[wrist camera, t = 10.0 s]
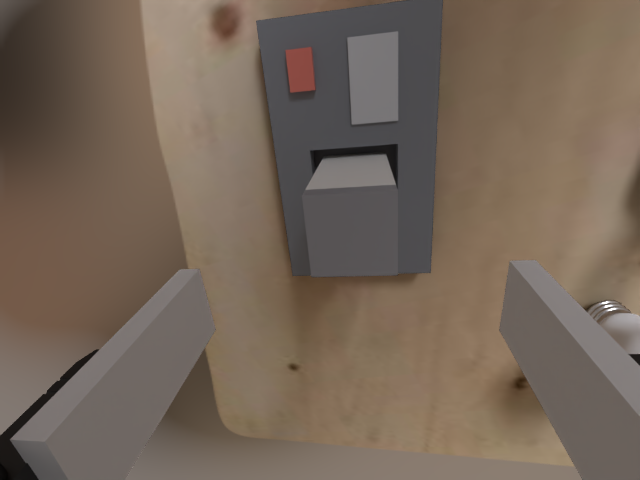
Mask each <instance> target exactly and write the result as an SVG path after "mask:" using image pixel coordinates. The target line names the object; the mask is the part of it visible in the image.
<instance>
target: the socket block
mask: <svg viewBox="0 0 640 480" xmlns="http://www.w3.org/2000/svg"><path fill="white" fill-rule="evenodd" d="M442 9H443V0H406V1H399V2H391V3H384V4H377V5H369V6H362V7H354V8H347V9H340V10H332V11H325V12H317V13H310V14H303V15H295V16H288V17H280V18H273V19H266V20H258V21H256V23H257V30H258V37H259V44H260V51H261V58H262V65H263V72H264V79H265V86H266V93H267V100H268V107H269V114H270V121H271V128H272V135H273V142H274V149H275V156H276V162H277V169H278V176H279V183H280V190H281V197H282V204H283V211H284V218H285V225H286V232H287V239H288V246H289V253H290V260H291V267H292V274H293V276H310V275H311V269H310V260H309V252H308V244H307V235H306V227H305V218H304V210H303V201H302V195H303V193H304V191H305V189H306V187H307V186H308V184H309V182H310V180H311V178H312V177H313V175H314V173H315V171H316V170H317V168H318V166H319V164H320V162H321V161H322V159H323V157H324V156H336V155H350V154H363V153H377V152H385V153H386V156H387V159H388V162H389V165H390V168H391V171H392V174H393V177H394V180H395V183H396V186H397V189H398V274H400V273H431V255H432V232H433V210H434V188H435V165H436V143H437V121H438V98H439V76H440V53H441V31H442Z"/></svg>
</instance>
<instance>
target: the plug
mask: <svg viewBox="0 0 640 480" xmlns="http://www.w3.org/2000/svg"><path fill="white" fill-rule="evenodd" d="M302 201H303V210H304V218H305V227H306V235H307V244H308V252H309V260H310V269H311V277H343V276H389V275H398V189H397V186H396V183H395V180H394V177H393V174H392V171H391V168H390V165H389V162H388V159H387V156H386V153H385V152H377V153H363V154H350V155H336V156H324V157H323V159H322V161H321V162H320V164H319V166H318V168H317V170H316V171H315V173H314V175H313V177H312V178H311V180H310V182H309V184H308V186H307V187H306V189H305V191H304V193H303V195H302Z"/></svg>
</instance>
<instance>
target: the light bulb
mask: <svg viewBox="0 0 640 480" xmlns="http://www.w3.org/2000/svg"><path fill="white" fill-rule="evenodd" d="M587 313H588V314H589V315H590V316H591V317H592V318H593V319H594V320H595V321H596V322H597V323H598V324H599V325H600V326H601V327H602V328H603V329H604V330H605V331H606V332H607V333H608V334H609V335H610V336H611V337H612V338H613V339H614V340H615V341H616V342H617V343H618V344H619V345H620V346H621V347H622V348H623V349H624V350H625V351H626V352H627V353H628V354H640V316H638V315H636V314H632V313H631V312H630V310H629V309H627V308H626V307H625V306H623V305H622V304H621V303H620V302H617V301H615V300H605V301H601V302H597V303H596V304H594V305H592V306H591V307H590V308H589V309H588V310H587Z"/></svg>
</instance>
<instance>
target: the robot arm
mask: <svg viewBox="0 0 640 480" xmlns="http://www.w3.org/2000/svg"><path fill="white" fill-rule="evenodd" d="M215 330H216V329H215V325H214V321H213V317H212V314H211V310H210V306H209V303H208V299H207V295H206V291H205V288H204V284H203V280H202V277H201V273H200V269H180V270H179V271H178V272H177V273H176V274H175V275H174V276H173V277H172V278H171V279H170V280H169V281H168V282H167V283H166V284H165V285H164V286H163V287H162V288H161V289H160V290H159V291H158V292H157V293H156V294H155V295H154V296H153V297H152V298H151V299H150V300H149V301H148V302H147V303H146V304H145V305H144V306H143V307H142V308H141V309H140V310H139V311H138V312H137V313H136V314H135V315H134V316H133V317H132V318H131V319H130V320H129V321H128V322H127V323H126V324H125V325H124V326H123V327H122V328H121V329H120V330H119V331H118V332H117V333H116V334H115V335H114V336H113V337H112V338H111V339H110V340H109V341H108V342H107V343H106V344H105V345H104V346H103V347H102V348H101V349H100V350H95V351H93V352H92V353H90V354H89V355H87V356H85V357H84V358H82V359H81V360H79V361H78V362H76V363H75V364H74V365H73V366H72V367H71V368H70V369H69V370H68V371H67V372H66V373H65V374H64V375H63V376H62V377H61V378H60V381H57V382H55V383H54V384H53V385H52V386H51V387H50V388H49V389H48V390H47V393H46V394H43V395H42V396H41V397H40V398H39V399H38V400H37V401H36V402H35V403H34V404H33V405H32V406H31V407H30V408H29V409H28V410H26V411H25V412H24V413H23V414H22V415H21V416H20V417H19V418H18V419H17V420H16V421H15V422H14V423H13V424H12V425H11V426H10V427H9V428H8V429H7V430H6V431H5V432H4V433H3V434H2V435H0V480H125V478H126V477H127V475H128V474H129V472H130V470H131V469H132V467H133V466H134V464H135V462H136V461H137V459H138V457H139V455H140V454H141V452H142V451H143V449H144V447H145V446H146V444H147V442H148V441H149V439H150V437H151V436H152V434H153V432H154V431H155V429H156V428H157V426H158V424H159V422H160V421H161V419H162V418H163V416H164V414H165V413H166V411H167V409H168V408H169V406H170V404H171V403H172V401H173V399H174V398H175V396H176V394H177V393H178V391H179V389H180V387H181V386H182V385H183V383H184V381H185V380H186V378H187V376H188V375H189V373H190V371H191V370H192V368H193V366H194V365H195V363H196V361H197V360H198V358H199V356H200V355H201V353H202V352H203V350H204V348H205V347H206V345H207V343H208V342H209V340H210V338H211V337H212V335H213V333H214V332H215ZM499 330H500V332H501V334H502V336H503V338H504V339H505V341H506V343H507V345H508V347H509V348H510V350H511V352H512V354H513V356H514V357H515V359H516V361H517V363H518V365H519V366H520V368H521V370H522V372H523V374H524V375H525V377H526V379H527V381H528V383H529V384H530V386H531V388H532V390H533V392H534V393H535V395H536V397H537V399H538V401H539V402H540V404H541V406H542V408H543V410H544V411H545V413H546V415H547V417H548V419H549V420H550V422H551V424H552V426H553V428H554V429H555V431H556V433H557V435H558V437H559V438H560V440H561V442H562V444H563V446H564V447H565V449H566V451H567V453H568V455H569V456H570V458H571V460H572V462H573V464H574V465H575V467H576V469H577V471H578V473H579V474H580V476H581V478H582V480H640V354H628V353H627V352H626V351H625V350H624V349H623V348H622V347H621V346H620V345H619V344H618V343H617V342H616V341H615V340H614V339H613V338H612V337H611V336H610V335H609V334H608V333H607V332H606V331H605V330H604V329H603V328H602V327H601V326H600V325H599V324H598V323H597V322H596V321H595V320H594V319H593V318H592V317H591V316H590V315H589V314H588V313H587V312H586V311H585V310H584V309H583V308H582V307H581V306H580V305H579V304H578V303H577V302H576V301H575V300H574V299H573V298H572V297H571V296H570V294H569V293H568V292H567V291H566V290H565V289H564V288H563V287H562V286H561V285H560V284H559V283H558V282H557V281H556V280H555V279H554V278H553V277H552V276H551V275H550V274H549V273H548V272H547V271H546V270H545V269H544V268H543V267H542V266H541V265H540V264H539V263H538V262H537V261H536V260H519V261H510V262H509V269H508V275H507V282H506V289H505V295H504V302H503V309H502V315H501V322H500V329H499Z"/></svg>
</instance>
